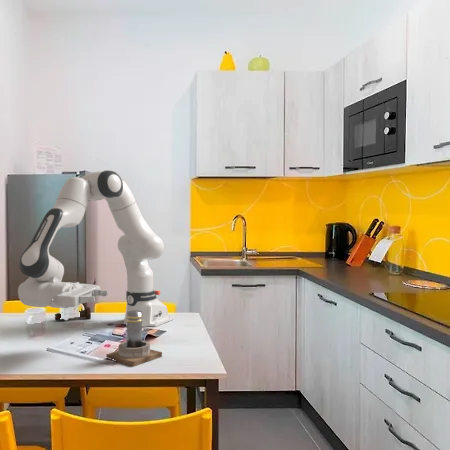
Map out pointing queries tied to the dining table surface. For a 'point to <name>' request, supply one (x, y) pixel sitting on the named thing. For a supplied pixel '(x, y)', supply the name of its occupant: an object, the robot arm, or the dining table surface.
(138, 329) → the cylinder
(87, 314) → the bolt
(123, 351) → the collar plate
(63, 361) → the dining table surface
